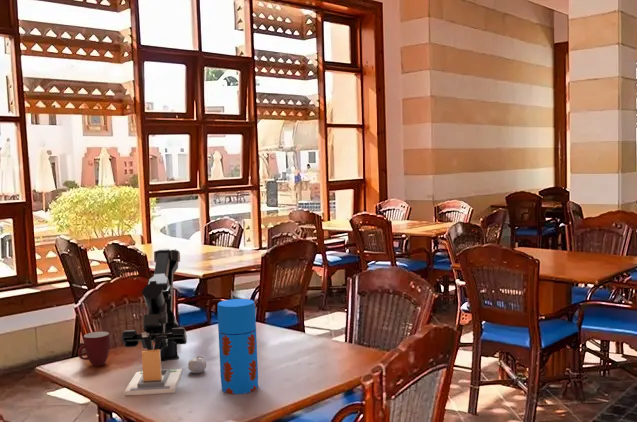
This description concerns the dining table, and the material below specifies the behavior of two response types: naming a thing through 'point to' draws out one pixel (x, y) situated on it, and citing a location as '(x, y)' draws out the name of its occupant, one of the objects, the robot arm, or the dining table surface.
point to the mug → (96, 347)
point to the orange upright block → (151, 366)
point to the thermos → (237, 346)
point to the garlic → (197, 365)
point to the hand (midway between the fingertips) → (152, 362)
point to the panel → (154, 383)
